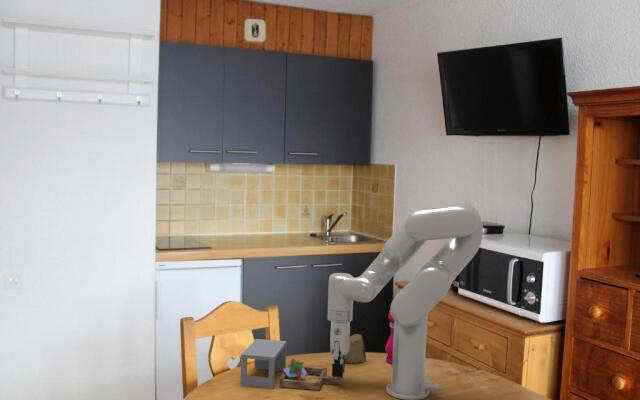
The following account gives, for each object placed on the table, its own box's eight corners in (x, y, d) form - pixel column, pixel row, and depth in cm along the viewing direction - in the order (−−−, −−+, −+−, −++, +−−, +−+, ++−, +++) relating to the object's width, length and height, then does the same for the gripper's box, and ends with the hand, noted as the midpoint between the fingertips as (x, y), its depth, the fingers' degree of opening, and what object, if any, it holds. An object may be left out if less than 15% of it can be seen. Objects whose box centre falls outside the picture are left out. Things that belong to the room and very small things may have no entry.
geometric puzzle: (313, 378, 203) (306, 353, 207) (292, 381, 200) (286, 356, 203) (304, 386, 208) (297, 361, 212) (284, 389, 205) (277, 364, 209)
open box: (285, 370, 216) (286, 341, 215) (273, 388, 199) (274, 357, 199) (255, 367, 218) (255, 338, 217) (240, 385, 201) (241, 354, 200)
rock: (331, 359, 222) (361, 357, 219) (332, 334, 226) (361, 332, 224) (338, 370, 230) (367, 369, 228) (339, 346, 235) (367, 345, 233)
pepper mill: (405, 366, 224) (408, 306, 222) (383, 364, 225) (386, 305, 223) (407, 359, 231) (409, 302, 229) (386, 357, 232) (388, 300, 230)
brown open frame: (345, 376, 211) (346, 353, 211) (339, 391, 198) (340, 367, 197) (289, 371, 214) (289, 349, 214) (279, 386, 200) (280, 362, 200)
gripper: (349, 322, 194) (347, 384, 196) (355, 309, 211) (353, 367, 212) (323, 320, 196) (321, 382, 197) (331, 307, 212) (330, 365, 213)
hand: (338, 373), depth 204 cm, fingers closed on brown open frame, 3 cm apart
